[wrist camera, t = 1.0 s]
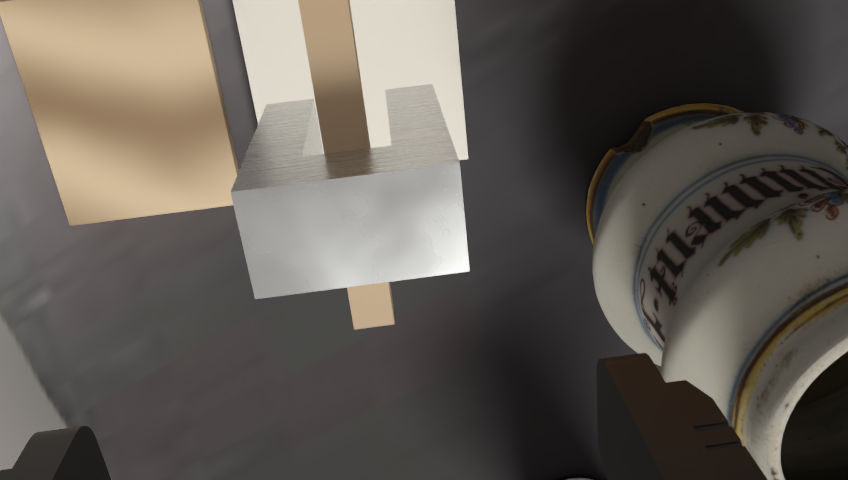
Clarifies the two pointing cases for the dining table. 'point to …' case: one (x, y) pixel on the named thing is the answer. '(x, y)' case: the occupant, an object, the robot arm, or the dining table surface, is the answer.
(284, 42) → the stand
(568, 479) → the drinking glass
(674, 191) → the apothecary jar
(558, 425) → the dining table surface
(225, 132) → the cork mat
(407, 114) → the c link
